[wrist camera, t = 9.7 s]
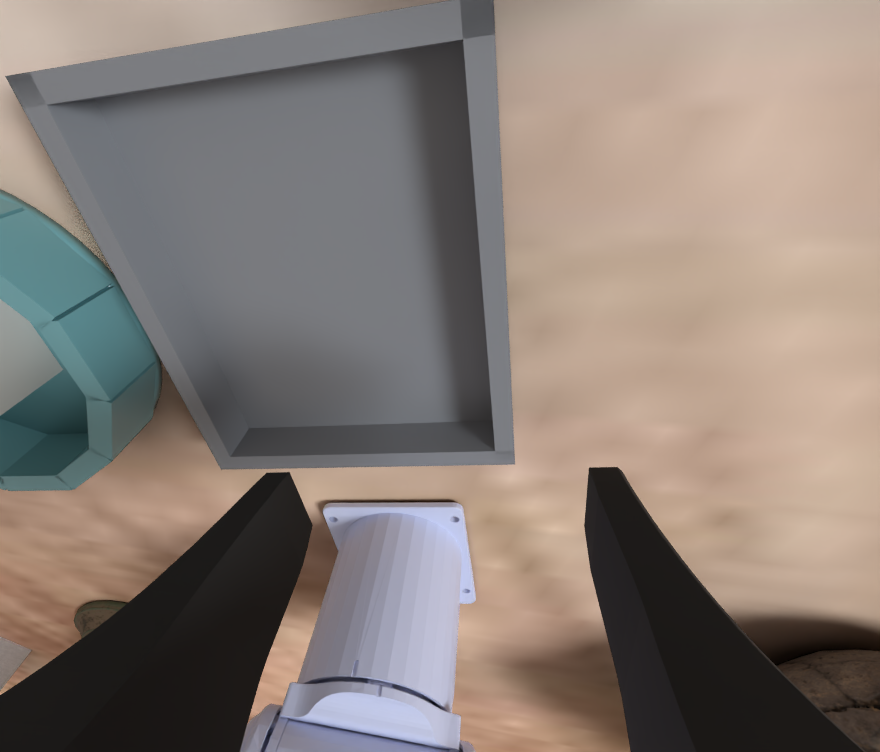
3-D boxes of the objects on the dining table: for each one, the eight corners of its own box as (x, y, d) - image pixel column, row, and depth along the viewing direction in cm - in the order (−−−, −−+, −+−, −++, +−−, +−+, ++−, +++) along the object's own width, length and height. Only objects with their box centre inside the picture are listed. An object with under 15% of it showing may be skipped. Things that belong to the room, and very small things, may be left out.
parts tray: (513, 426, 22) (514, 464, 20) (244, 433, 24) (221, 469, 22) (493, 2, 13) (493, -7, 11) (71, 73, 15) (5, 76, 13)
